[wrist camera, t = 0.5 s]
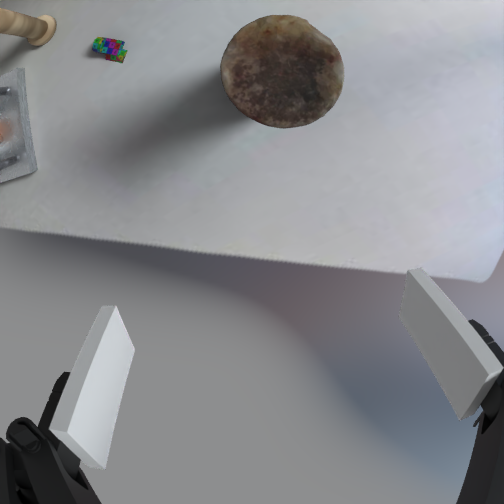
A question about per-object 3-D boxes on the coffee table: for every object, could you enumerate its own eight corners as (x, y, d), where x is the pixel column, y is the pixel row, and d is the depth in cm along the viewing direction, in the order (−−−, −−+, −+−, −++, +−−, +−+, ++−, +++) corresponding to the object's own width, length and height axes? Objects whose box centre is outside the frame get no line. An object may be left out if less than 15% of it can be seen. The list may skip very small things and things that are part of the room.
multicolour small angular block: (95, 59, 29) (88, 57, 27) (103, 38, 28) (96, 35, 26) (124, 65, 30) (117, 63, 28) (132, 44, 29) (126, 40, 27)
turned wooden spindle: (31, 23, 25) (-51, 7, 9) (56, 11, 25) (-23, -15, 10) (31, 50, 27) (-56, 43, 11) (56, 39, 27) (-28, 22, 12)
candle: (247, 127, 35) (266, 152, 17) (212, 77, 32) (192, 48, 14) (302, 94, 33) (375, 89, 16) (268, 44, 30) (308, -13, 13)
